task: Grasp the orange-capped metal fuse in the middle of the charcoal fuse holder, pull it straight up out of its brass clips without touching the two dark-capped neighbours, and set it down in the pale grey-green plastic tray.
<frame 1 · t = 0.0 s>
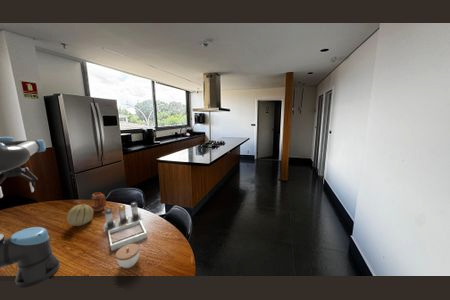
hand: (17, 194, 116), 28 cm above the table, fingers open, 13 cm apart
fuse left: (110, 226, 126), point 1 cm above the table, touching fuse holder
mug: (101, 210, 150), on the table
marked fuse: (123, 222, 130), point 1 cm above the table, touching fuse holder
cantaloupe: (82, 224, 131), on the table
tray: (127, 236, 117), on the table
fuse right: (135, 218, 135), point 1 cm above the table, touching fuse holder
fuse holder: (123, 223, 130), on the table
lidded jar: (129, 263, 96), on the table
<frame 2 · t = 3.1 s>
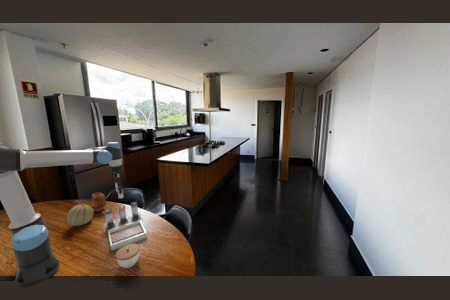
hand: (119, 194, 126), 23 cm above the table, fingers open, 13 cm apart
nothing on the table moved.
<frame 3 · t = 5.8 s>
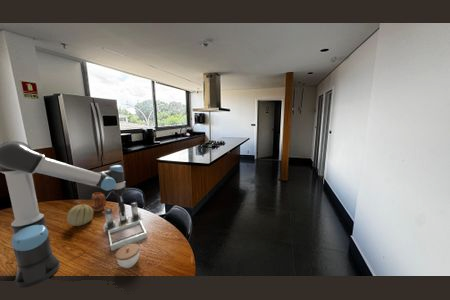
hand: (122, 218, 130), 5 cm above the table, fingers closed on marked fuse, 4 cm apart
marked fuse: (123, 222, 130), point 1 cm above the table, touching fuse holder, gripper
everything else where it was.
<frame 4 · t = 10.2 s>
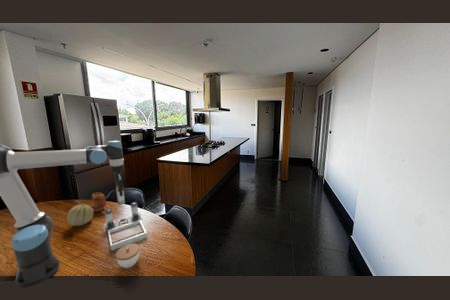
hand: (120, 198, 121), 22 cm above the table, fingers closed on marked fuse, 4 cm apart
marked fuse: (121, 203, 121), point 19 cm above the table, touching gripper
everything else where it was.
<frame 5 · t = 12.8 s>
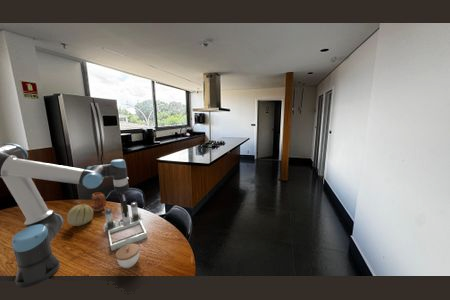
hand: (125, 219, 115), 12 cm above the table, fingers closed on marked fuse, 4 cm apart
marked fuse: (126, 224, 115), point 9 cm above the table, touching gripper
everything else where it was.
when the fingers open (6 cm above the table, at t = 14.7 s): marked fuse drops 1 cm, resting on tray.
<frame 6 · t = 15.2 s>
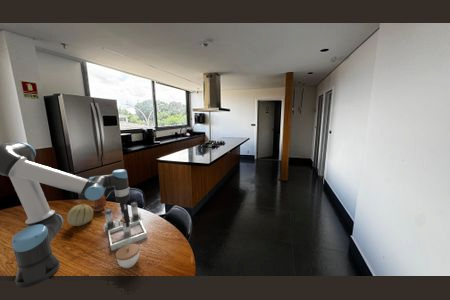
hand: (126, 226, 116), 7 cm above the table, fingers open, 11 cm apart
marked fuse: (127, 235, 117), point 1 cm above the table, touching tray
everything else where it was.
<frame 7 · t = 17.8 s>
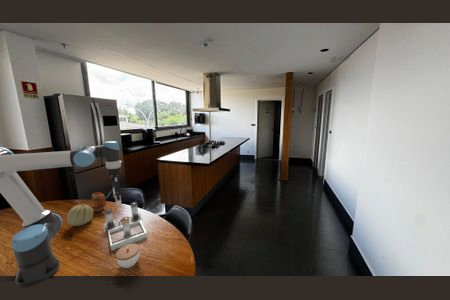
hand: (117, 200, 112), 25 cm above the table, fingers open, 13 cm apart
nothing on the table moved.
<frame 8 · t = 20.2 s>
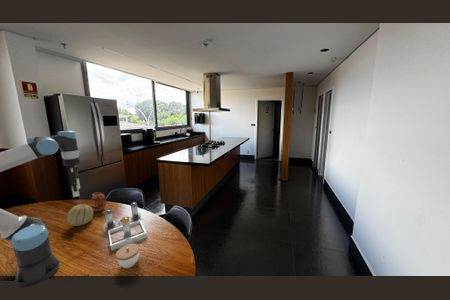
hand: (77, 192, 108), 32 cm above the table, fingers open, 13 cm apart
nothing on the table moved.
at the end: marked fuse inside the target area on the tray (0.0 cm from its centre), point 0.8 cm above the tray's base; fuse left moved 0.0 cm from its start; fuse right moved 0.0 cm from its start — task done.
